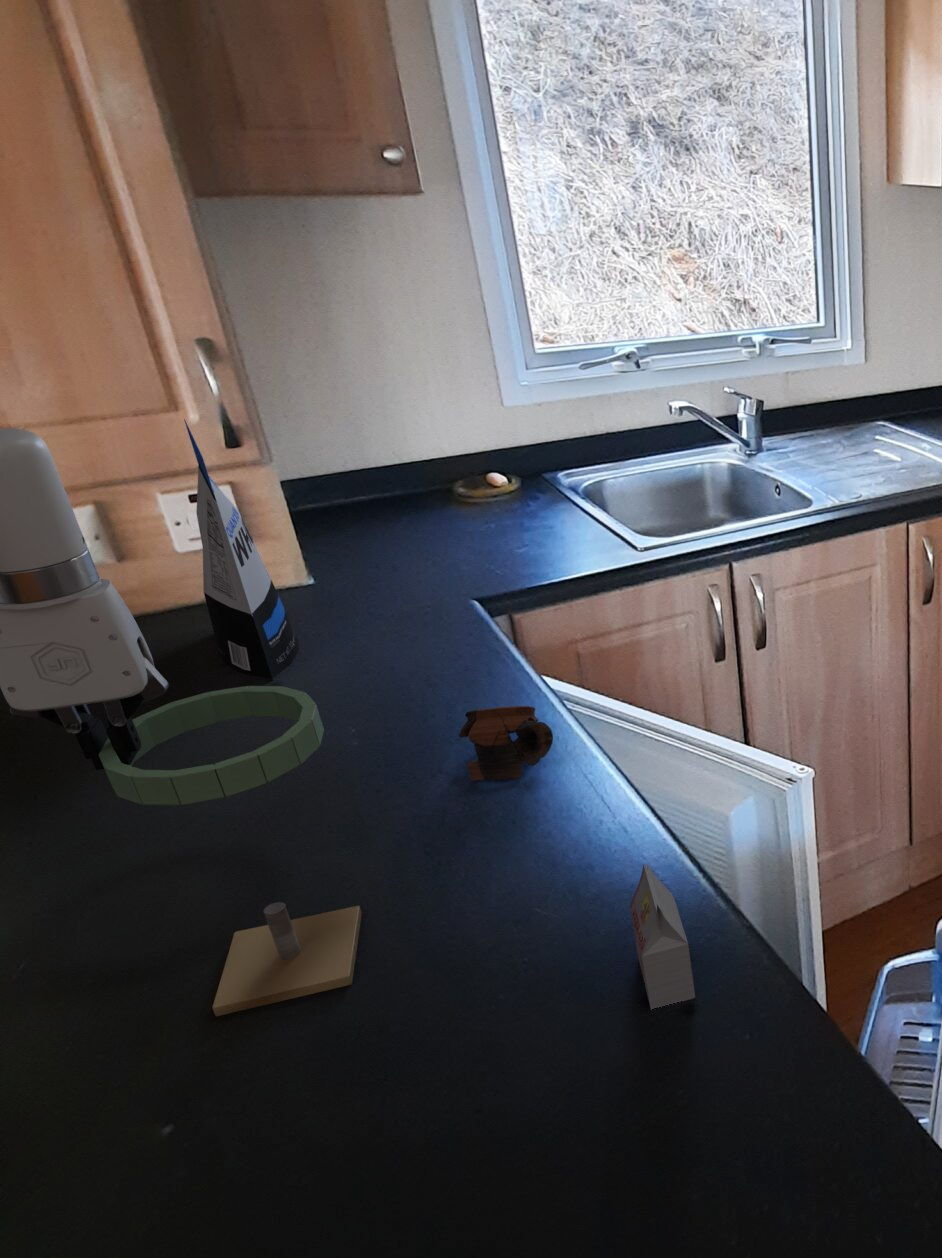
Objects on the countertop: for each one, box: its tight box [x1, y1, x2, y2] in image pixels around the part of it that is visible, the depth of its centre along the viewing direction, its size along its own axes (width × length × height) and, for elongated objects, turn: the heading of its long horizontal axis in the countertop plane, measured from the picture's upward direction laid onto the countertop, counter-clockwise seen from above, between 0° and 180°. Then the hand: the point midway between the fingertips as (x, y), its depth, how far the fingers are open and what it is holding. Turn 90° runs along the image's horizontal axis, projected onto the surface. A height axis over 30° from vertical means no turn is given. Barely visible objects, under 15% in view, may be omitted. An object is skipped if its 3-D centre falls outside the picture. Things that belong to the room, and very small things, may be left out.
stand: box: [211, 901, 363, 1017], centre depth 91 cm, size 10×10×6 cm
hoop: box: [99, 685, 325, 806], centre depth 101 cm, size 17×17×3 cm
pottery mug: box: [458, 705, 554, 782], centre depth 121 cm, size 12×10×8 cm
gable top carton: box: [629, 862, 696, 1011], centre depth 89 cm, size 4×7×10 cm, turn 24°
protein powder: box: [183, 418, 300, 681], centre depth 141 cm, size 10×24×30 cm, turn 38°
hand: (117, 759), depth 98 cm, fingers closed on hoop, 1 cm apart
